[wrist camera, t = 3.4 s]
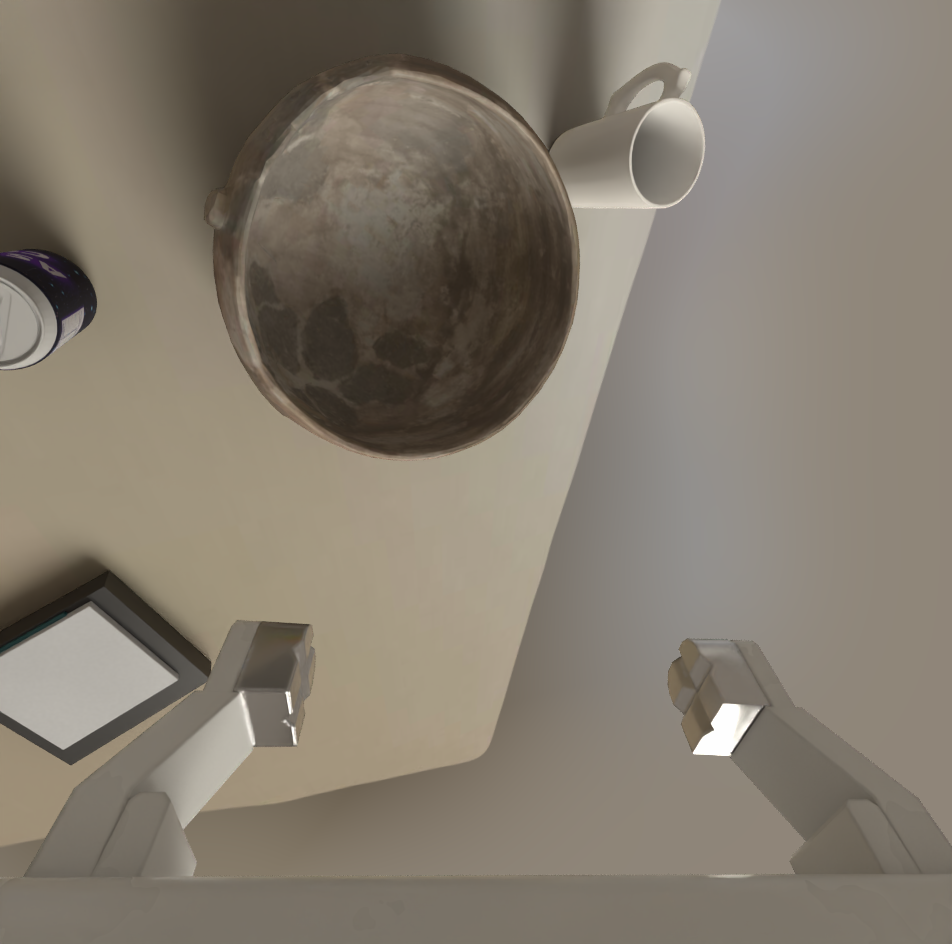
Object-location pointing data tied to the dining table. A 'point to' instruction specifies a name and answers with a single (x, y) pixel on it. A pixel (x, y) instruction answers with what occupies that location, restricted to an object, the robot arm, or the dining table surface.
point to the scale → (92, 669)
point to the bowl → (396, 258)
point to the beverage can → (40, 305)
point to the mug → (635, 148)
